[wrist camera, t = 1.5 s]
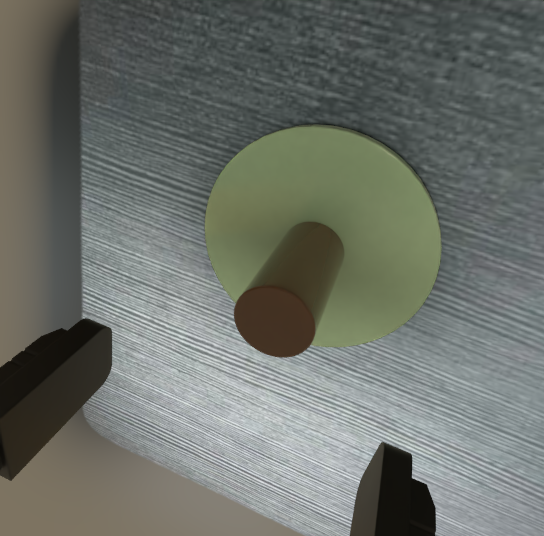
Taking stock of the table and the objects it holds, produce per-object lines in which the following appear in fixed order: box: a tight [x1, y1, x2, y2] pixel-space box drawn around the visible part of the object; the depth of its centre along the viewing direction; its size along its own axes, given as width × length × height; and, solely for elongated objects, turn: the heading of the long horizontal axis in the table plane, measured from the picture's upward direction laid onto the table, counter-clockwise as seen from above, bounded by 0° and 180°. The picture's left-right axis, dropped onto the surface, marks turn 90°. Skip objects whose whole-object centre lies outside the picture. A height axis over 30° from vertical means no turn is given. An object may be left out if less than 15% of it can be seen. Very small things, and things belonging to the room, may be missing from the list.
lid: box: [205, 124, 442, 357], centre depth 18 cm, size 11×11×7 cm
